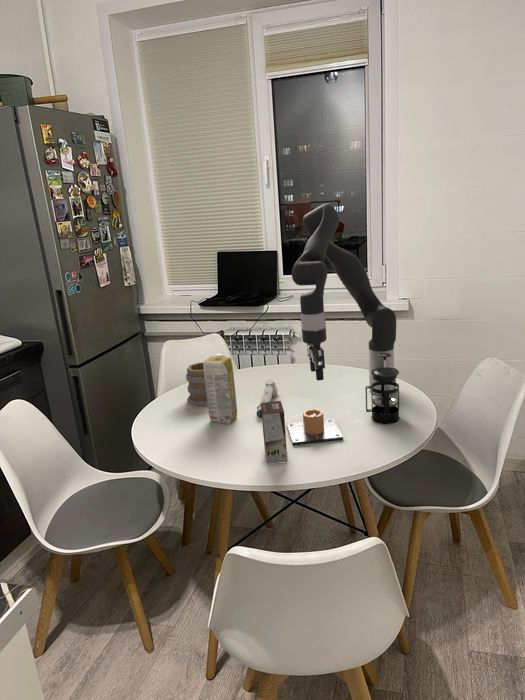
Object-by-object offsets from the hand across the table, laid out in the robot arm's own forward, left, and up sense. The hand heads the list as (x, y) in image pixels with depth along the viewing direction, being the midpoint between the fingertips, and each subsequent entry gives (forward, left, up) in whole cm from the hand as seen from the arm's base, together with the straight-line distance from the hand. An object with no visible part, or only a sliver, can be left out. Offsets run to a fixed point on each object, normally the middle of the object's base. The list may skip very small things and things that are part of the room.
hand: (317, 375), depth 165 cm
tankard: (+35, -40, -20) cm, 57 cm away
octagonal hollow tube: (+2, +1, -18) cm, 18 cm away
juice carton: (+31, -17, -20) cm, 41 cm away
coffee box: (+16, +14, -20) cm, 29 cm away
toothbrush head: (+15, -27, -20) cm, 36 cm away
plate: (+2, +2, -19) cm, 20 cm away
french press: (-23, -3, -20) cm, 30 cm away
